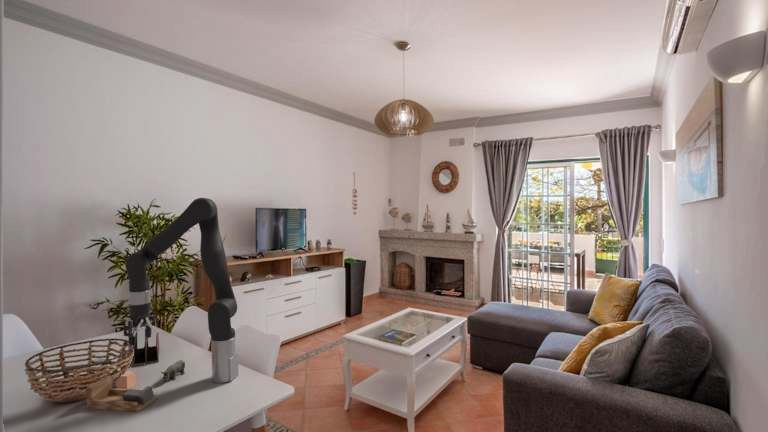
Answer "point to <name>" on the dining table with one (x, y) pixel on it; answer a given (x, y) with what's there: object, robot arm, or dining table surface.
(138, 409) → the wooden tray
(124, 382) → the block
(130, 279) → the robot arm
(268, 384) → the dining table surface
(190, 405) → the dining table surface
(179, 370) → the rhino figurine
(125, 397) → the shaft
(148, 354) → the letter holder
